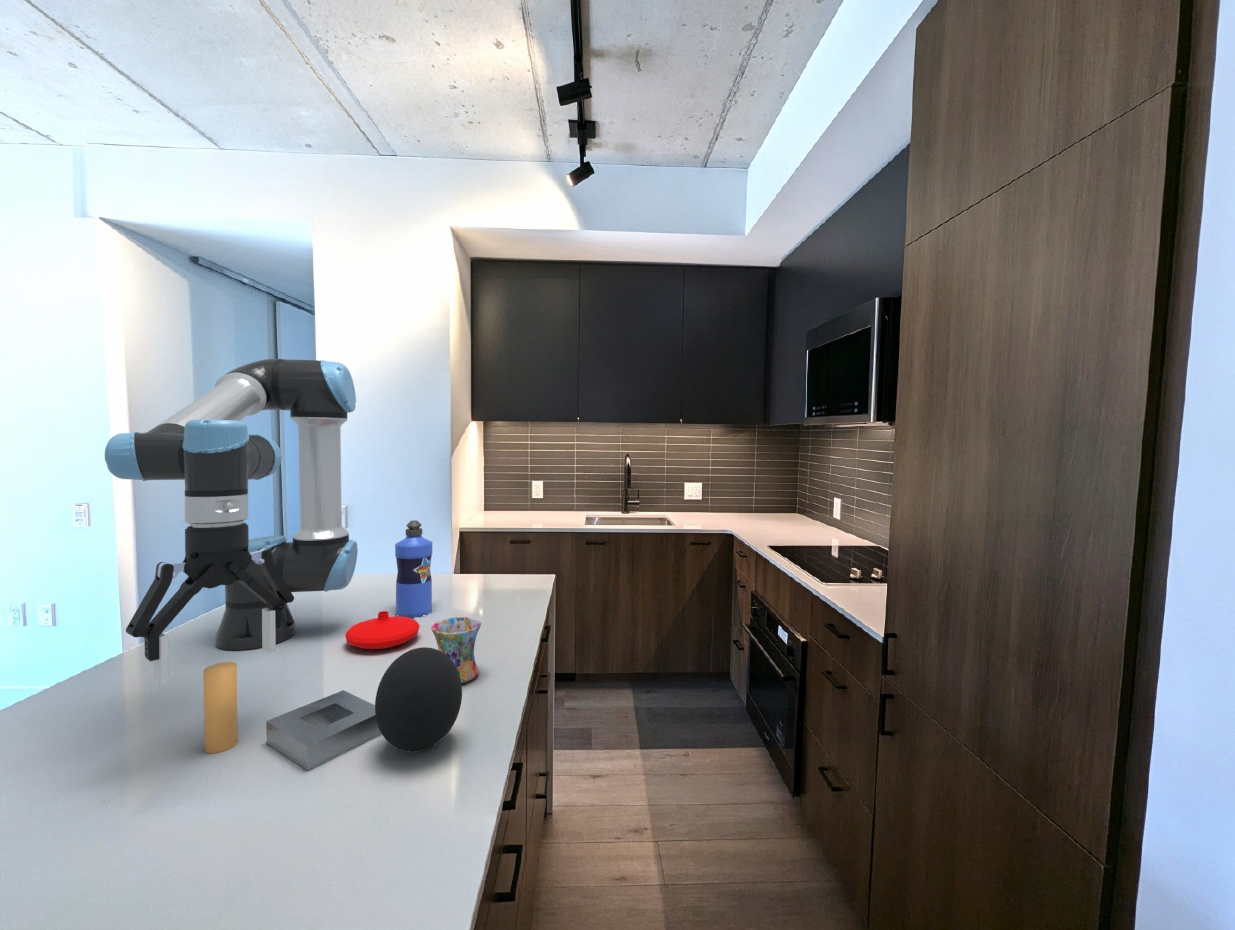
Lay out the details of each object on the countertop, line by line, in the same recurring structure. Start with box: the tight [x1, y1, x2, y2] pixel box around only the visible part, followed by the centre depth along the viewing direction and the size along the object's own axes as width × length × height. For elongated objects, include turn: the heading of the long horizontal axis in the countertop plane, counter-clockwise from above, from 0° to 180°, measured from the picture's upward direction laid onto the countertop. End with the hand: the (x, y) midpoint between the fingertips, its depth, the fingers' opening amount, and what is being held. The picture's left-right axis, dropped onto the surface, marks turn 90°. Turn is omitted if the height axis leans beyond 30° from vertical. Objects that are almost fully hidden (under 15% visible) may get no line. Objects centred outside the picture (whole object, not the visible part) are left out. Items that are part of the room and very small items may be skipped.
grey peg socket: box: [265, 689, 382, 771], centre depth 81 cm, size 12×12×4 cm
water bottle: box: [394, 519, 433, 619], centre depth 140 cm, size 9×9×25 cm
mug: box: [431, 616, 482, 684], centre depth 104 cm, size 12×9×11 cm
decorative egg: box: [374, 647, 463, 753], centre depth 79 cm, size 12×12×15 cm
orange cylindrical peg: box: [202, 661, 239, 754], centre depth 79 cm, size 4×4×12 cm
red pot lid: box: [344, 610, 421, 650], centre depth 120 cm, size 16×16×7 cm
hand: (219, 664), depth 78 cm, fingers open, 13 cm apart
